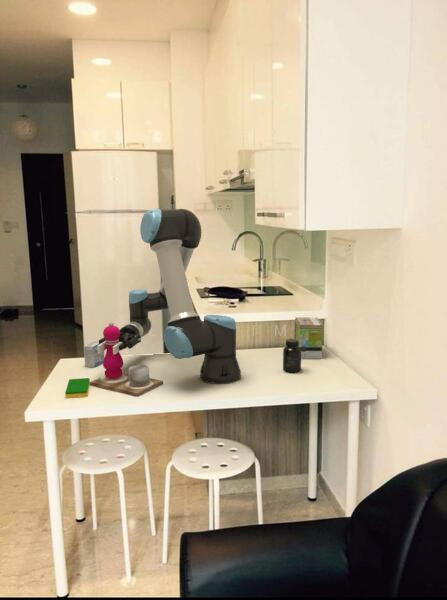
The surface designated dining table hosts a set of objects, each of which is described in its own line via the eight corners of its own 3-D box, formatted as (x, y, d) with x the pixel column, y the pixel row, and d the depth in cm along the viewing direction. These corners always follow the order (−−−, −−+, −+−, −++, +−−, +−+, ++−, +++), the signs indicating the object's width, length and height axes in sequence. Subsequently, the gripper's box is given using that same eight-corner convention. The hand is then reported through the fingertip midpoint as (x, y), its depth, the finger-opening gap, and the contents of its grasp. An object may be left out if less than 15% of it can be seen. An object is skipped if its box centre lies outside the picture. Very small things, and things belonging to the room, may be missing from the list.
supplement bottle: (285, 367, 199) (285, 337, 197) (302, 369, 197) (303, 339, 194) (280, 372, 193) (281, 342, 191) (298, 374, 190) (299, 343, 188)
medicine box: (94, 368, 200) (93, 346, 198) (84, 367, 201) (83, 346, 200) (105, 362, 207) (103, 341, 206) (95, 361, 209) (94, 340, 207)
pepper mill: (119, 379, 179) (116, 324, 176) (100, 378, 181) (97, 323, 177) (127, 372, 186) (124, 319, 183) (108, 371, 188) (105, 319, 184)
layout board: (163, 384, 181) (162, 364, 180) (137, 396, 169) (136, 376, 168) (117, 374, 192) (116, 355, 191) (89, 385, 181) (88, 365, 179)
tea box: (322, 359, 209) (323, 324, 206) (298, 359, 209) (299, 324, 206) (316, 349, 224) (317, 316, 221) (293, 349, 224) (294, 316, 221)
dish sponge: (90, 384, 183) (89, 377, 183) (87, 398, 170) (87, 391, 170) (69, 385, 182) (69, 379, 182) (65, 399, 169) (65, 392, 168)
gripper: (153, 343, 198) (131, 361, 175) (109, 341, 201) (82, 359, 179) (152, 325, 196) (130, 340, 174) (108, 323, 200) (81, 338, 177)
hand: (106, 350), depth 176 cm, fingers open, 5 cm apart
